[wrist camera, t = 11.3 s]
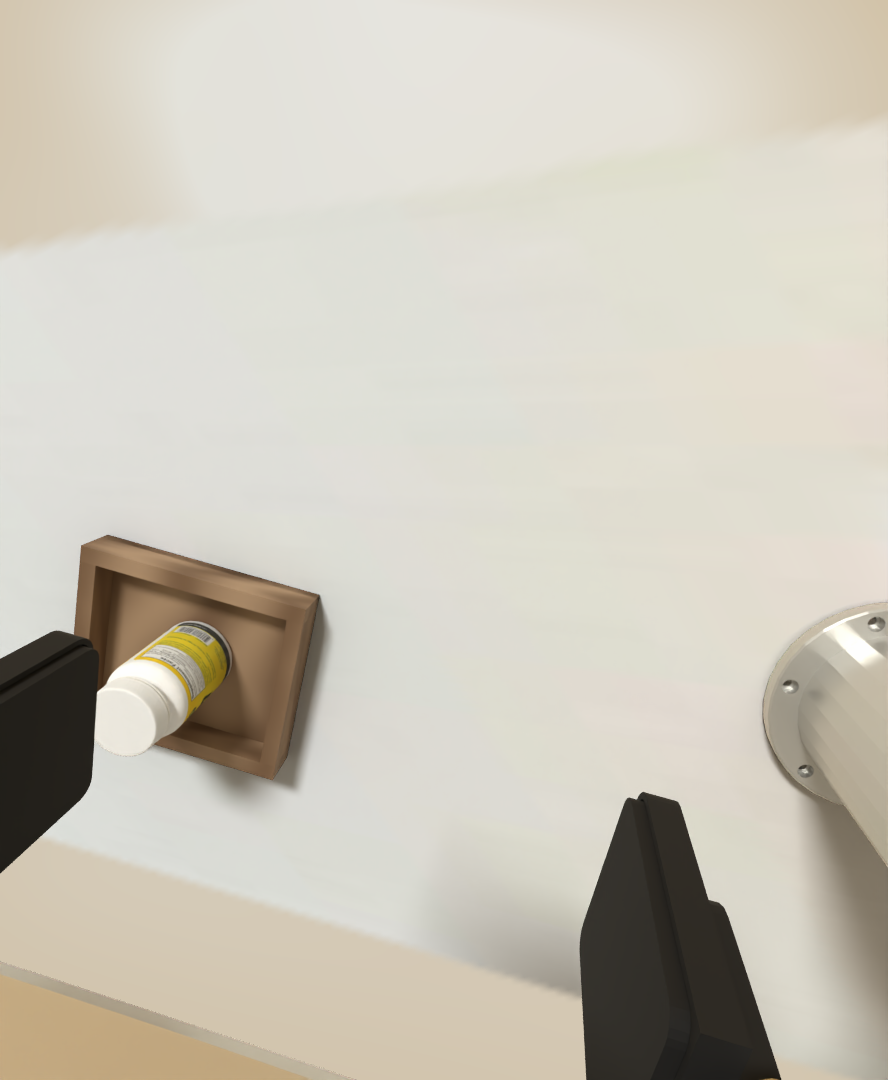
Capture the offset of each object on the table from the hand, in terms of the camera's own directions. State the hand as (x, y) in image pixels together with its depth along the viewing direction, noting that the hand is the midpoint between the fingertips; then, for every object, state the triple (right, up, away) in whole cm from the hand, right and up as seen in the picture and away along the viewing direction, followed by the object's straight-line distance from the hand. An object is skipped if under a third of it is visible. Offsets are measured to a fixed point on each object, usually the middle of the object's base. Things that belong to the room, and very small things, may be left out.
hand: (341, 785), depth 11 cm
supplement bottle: (-14, -3, +31) cm, 34 cm away
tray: (-14, -3, +31) cm, 34 cm away
